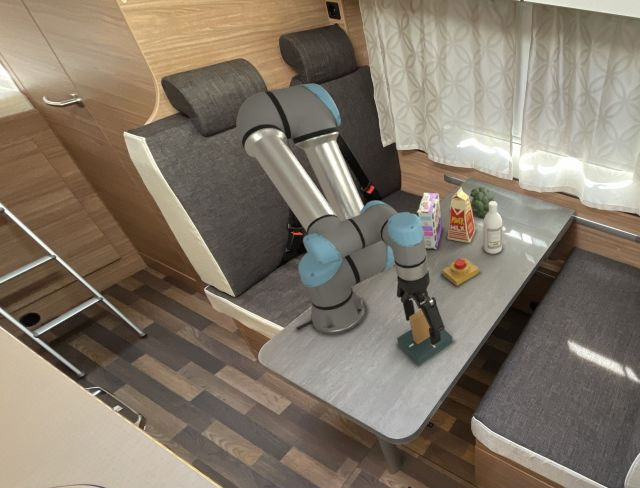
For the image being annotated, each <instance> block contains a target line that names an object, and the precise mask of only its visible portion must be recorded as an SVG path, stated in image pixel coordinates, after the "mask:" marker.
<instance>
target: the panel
mask: <svg viewBox="0 0 640 488" xmlns="http://www.w3.org/2000/svg"><path fill="white" fill-rule="evenodd" d="M440 338H441V341H439V342H438V343H436V344H435V345H432V344H431V340H430V337H429V338H427V339H425V340H424V341H422V342H421V343H419V344H417V343H416V342H415V341H414V340H413V335H412V330H411V329H409V330H408V331H406V332H405V333H403V334H401V335H400V336H398V337H397V338H396V340H397V344H398V346H399V347H400V348H401V349H402V350H403V352H404V353H405V354H406V355H407V356H408V357H409V358H410V359H411V360H412V361H413V363H415V364H416V366H420V365H422V364H423V363H425V362H426V361H428V360H429V359H431V358H432V357H433V356H435V355H436V354H438V353H439V352H440V351H442V350H444V349H445V348H447V347H448V346H450V345H451V344H452V343H453V335H452V334H451V333H449V331H447V330H446V328H445V329H443V330H442V331H440Z"/></svg>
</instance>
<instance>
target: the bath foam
mask: <svg viewBox="0 0 640 488" xmlns="http://www.w3.org/2000/svg"><path fill="white" fill-rule="evenodd" d="M482 226H483V227H482V229H483V232H482V233H483V250H484V251H485V252H486V253H487V254H491V255H494V254H499V253H500V252H501V251H502V250H503V226H504V225H503V219H502V216H501V215H500V213H499V212H498V202H497V201H495V200H494V201H491V202H489V212H488V213H487V214H486V216H485V218H484V217H483V222H482Z"/></svg>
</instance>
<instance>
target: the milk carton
mask: <svg viewBox="0 0 640 488" xmlns="http://www.w3.org/2000/svg"><path fill="white" fill-rule="evenodd" d="M450 200H451V201H450V207H449V225H448V232H447V240H450V241H451V240H452V241H457V242H462V243H468V244H470V243H471V241H472V239H473V237H474V235H475V232H476V226H475V220H474V215H473V209H472V208H471V204H470V201H471V199H470V195H468V194H466V193H465V192H464V190H463V188H462V186H460V188H459V189H458V190H457V191H456V193H454V194H453V195H452V197H451V199H450Z"/></svg>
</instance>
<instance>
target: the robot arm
mask: <svg viewBox="0 0 640 488" xmlns="http://www.w3.org/2000/svg"><path fill="white" fill-rule="evenodd" d="M341 122H342V120H341V116H340V111H339V109H338V107H337V105H336V103H335V101H334V99H333V98H332V97H331V95H330V93H329V92H328V91H327V90H326V89H325V88H324V87H323V86H322V85H319V84H317V83H305V84H301V83H299V84H297V85H296V84H295V85H291V86H286V87H282V88H277V89H272V90H268V91H267V90H266V91H260V92H256V93H254V94H252V95H250V96H249V97H247V98H246V99H245V100H244V101H243V103H242V104H241V106H240V107H239V109H238V113H237V116H236V122H235V124H236V125H235V128H236V134H237V138H238V140H239V143H240V144H241V147H242V148H243V150H244V151H245V152H246V154H247V155H248V156H249V157H251V158H253V159H255V160H257V162H258V163H259V165H260V166H261V168H262V169H263V171H264V172H265V173H266V175H267V176H268V178H269V179H270V181H271V182H272V184H273V185H274V187H275V188H276V190H277V191H278V192H279V194H280V195H281V197H282V198H283V200H284V201H285V203H286V204H287V206H288V207H289V209H290V210H291V211H292V213H293V214H294V216H295V217H296V219H297V220H298V221H299V223H300V225H301V226H302V227H303V229H304V230H305V232H306V233H307V235H305V236H303V239H302V243H303V245H304V248H305V250H306V253H305V254H304V255H303V256H302V257H301V259H300V261H299V263H298V266H297V267H298V268H297V269H298V274H299V277H300V278H299V279H300V282H301V283H302V285H303V287H304V289H305V292H306V293H307V296H308V298H309V300H310V303H311V314H310V315H311V317H310V319H311V320H309V321H307V322H305V323H303V324H301V325H299V326H296V330H297V331H299V330H301V329H303V328H305V327H307V326H309V325H311V324H313V327H314V329H316V330H317V331H318V332H319V333H322V334H325V335H338V334H339V335H340V334H344V333H346V332H348V331H351V330H353V329H354V328H356V327H357V326H359V324H360V323H361V322H362V321H363V320H364V317H365V314H366V308H365V304H364V302H363V299H362V298H360V297H359V296H358V294H357V293H356V292H354V291H353V288H352V287H353V286H356V285H357V284H360V283H362V282H363V281H366V280H368V279H371V278H372V277H374V276H376V275H379V274H380V273H384V272H385V271H386V270H388V269H390V268H391V267H393V266H395V270H396V275H397V277H396V280H397V289H396V297H397V298H398V299H400V302H401V303H402V306H403V311H404V316H405V320H406V321H407V322H410V320H409V317H410V316H411V315H413V314H415V313H416V311H415V305H414V302H415V304H416V306H417V308H418V309H420V310H422V312H423V314H424V316H425V318H426V320H427V322H428V324H429V326H430V328H429V333H430V340H431V344H432V345H435V344H436V343H438V342H439V341H441V338H440V331H442V330H443V329H445V330H446V328H445V324H444V321H443V319H442V316H441V313H440V310H439V308H438V304H437V298H436V297H435V296H432V297H430V295H429V291H428V287H429V286H430V283H431V278H430V272H429V271H430V270H429V266H428V265H429V264H428V259H427V258H428V254H427V249H425V241H424V230H423V228H422V224H421V220H420V218H419V217H418V216H417V214H415V213H411V212H409V211H403V212H402V211H401V212H397V210H395V208H393V207H392V206H391V205H390V204H387V203H386V202H384V201H381V200H378V199H377V200H370V201H368V202H367V203H366V204H365V205H364V203H363V200H362V198H361V196H360V193H359V191H358V189H357V186H356V183H355V182H354V180H353V177H352V175H351V172H350V170H349V167H348V166H347V163H346V161H345V159H344V156H343V154H342V151H341V150H340V147H339V144H338V143H337V140H338V139H337V138H338V136H339V134H340V131H339V130H338V128H339V127H340V126H341ZM288 140H292V142H293V144H294V146H295V147H296V148H299V149H301V150H303V151H304V153H305V156H306V157H307V159H308V162H309V165H310V166H311V168H312V171H313V173H314V175H315V177H316V179H317V182H318V184H319V186H320V188H321V190H322V192H323V194H324V195H323V194H322V192H321V191H320V189H319V188H318V187H317V185H316V184H315V182H314V181H313V180H312V178H311V177H310V176H309V174H308V172H307V171H306V169H305V168H304V167H303V165H302V164H301V163H300V161H299V160H298V158H297V157H296V155H295V154H294V153H293V151H292V150H291V149H290V147H289V146H288Z"/></svg>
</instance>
